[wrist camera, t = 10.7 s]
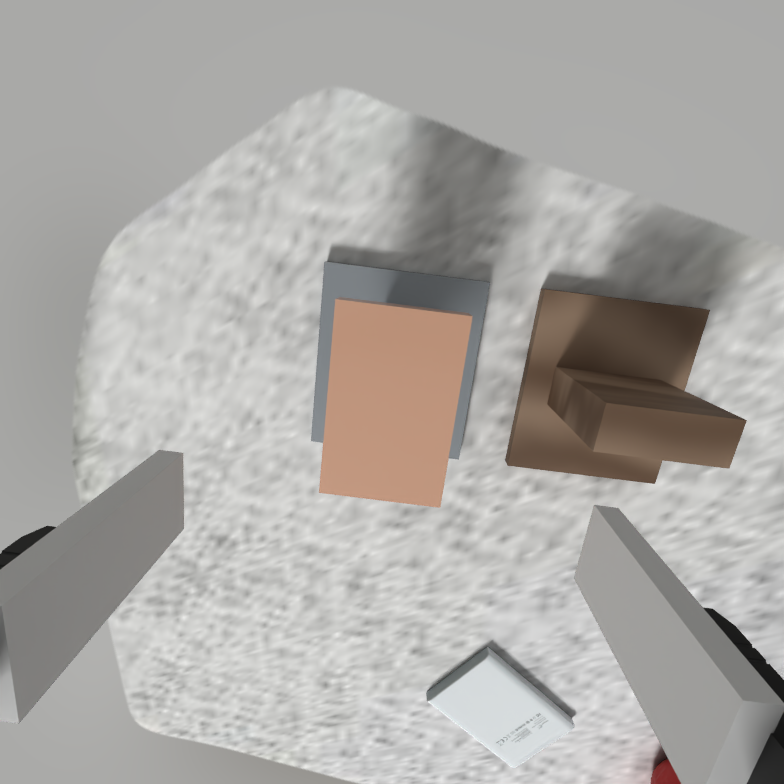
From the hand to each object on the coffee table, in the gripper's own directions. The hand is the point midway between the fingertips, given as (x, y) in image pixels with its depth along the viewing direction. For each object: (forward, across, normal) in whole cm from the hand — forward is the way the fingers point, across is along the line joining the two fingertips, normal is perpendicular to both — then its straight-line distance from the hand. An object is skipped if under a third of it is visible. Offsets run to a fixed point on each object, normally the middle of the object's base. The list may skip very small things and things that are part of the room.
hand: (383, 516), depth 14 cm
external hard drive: (+23, +14, -33) cm, 43 cm away
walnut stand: (+22, +16, 0) cm, 27 cm away
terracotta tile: (+12, 0, 0) cm, 12 cm away
